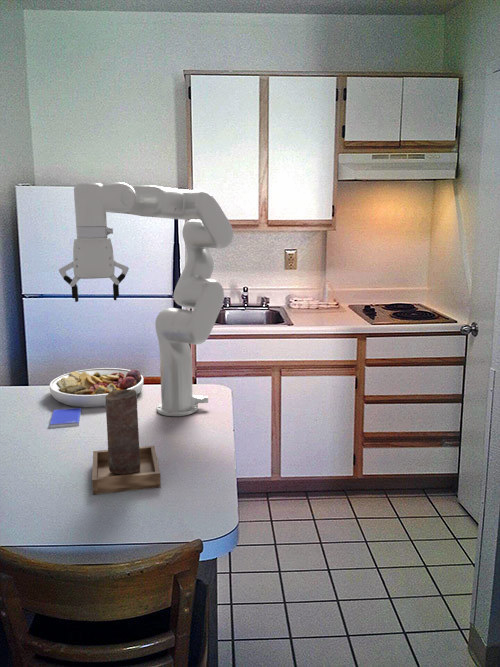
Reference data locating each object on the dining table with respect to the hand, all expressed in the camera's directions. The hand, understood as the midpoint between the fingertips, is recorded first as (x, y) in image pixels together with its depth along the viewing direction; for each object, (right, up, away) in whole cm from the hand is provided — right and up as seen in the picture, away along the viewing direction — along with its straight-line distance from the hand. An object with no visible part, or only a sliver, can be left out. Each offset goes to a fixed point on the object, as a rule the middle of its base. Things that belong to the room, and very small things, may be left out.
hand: (96, 300), depth 161 cm
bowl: (-11, -29, +45) cm, 55 cm away
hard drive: (-15, -35, +24) cm, 44 cm away
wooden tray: (+10, -42, -13) cm, 45 cm away
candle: (+10, -42, -13) cm, 45 cm away
